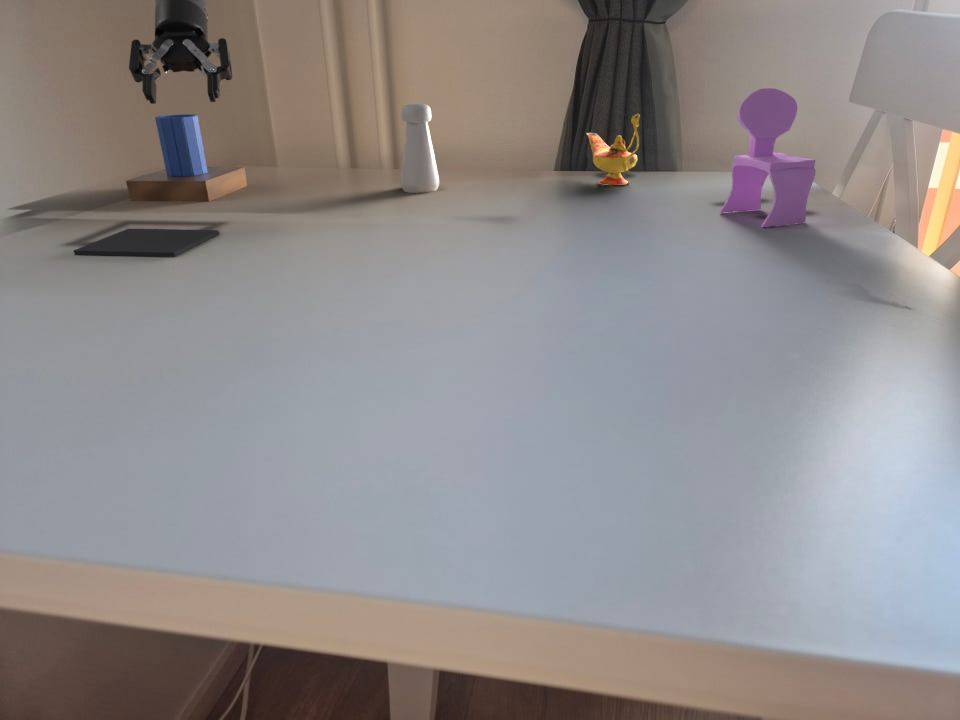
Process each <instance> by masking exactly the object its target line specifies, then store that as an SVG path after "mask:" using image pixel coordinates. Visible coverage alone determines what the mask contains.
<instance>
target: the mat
mask: <svg viewBox="0 0 960 720" xmlns="http://www.w3.org/2000/svg"><path fill="white" fill-rule="evenodd" d="M218 235H220V231H219V229H177V228H176V229H173V228H172V229H171V228H170V229H169V228H125V229H124V230H120V231H119V232H116V233H113V234H110V235H108V236H106V237H104V238H101V239H98V240H96V241H93V242H91V243H89V244H86V245H84V246H81V247H79V248H76V249H74V250H73V254H74V255H75V256H119V257H156V258H157V257H161V258H162V257H163V258H165V257H166V258H176V257H177V256H180V255H181V254H184V253H185V252H187V251H189V250H191V249H193V248H194V247H197V246H199V245H201V244H203V243H205V242H207V241H209V240H210V239H212V238H214V237H216V236H218Z"/></svg>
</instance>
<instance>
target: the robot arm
mask: <svg viewBox="0 0 960 720" xmlns="http://www.w3.org/2000/svg"><path fill="white" fill-rule="evenodd" d="M208 21H209V14H208V6H207V1H206V0H154V40H153V41H152V42H151V44H145V43H141V41H140V40H139V39H133V40H132V41H131V43H130V44H131V45H130V52H129V61H128V70H129V71H130V74H131V76H132V78H133V81H134V82H135V83H142V86H141V89H142V90H141V91H142V93H143V95H144V98H145V100H146V101H149V103H150V104H151V105H156V104H157V84H156V83H158V81H159V80H160V79H164V78H166V77H167V76H168V75H169V74H170V73H171V72H172V73H179V72H180V73H181V72H189V73H192V72H193V73H194V72H195V70H197V71H199V72H200V74H202V75H203V76H204V78H206V79H207V80H206V85H207V86H206V89H207V95H208V98H209V101H210V102H211V103H216V102H217V99H219V98H220V97H221V88H220V85H221V84H220V83H221V81H223V80H226V81H231V80H232V79H233V69H232V62H231V61H232V60H231V53H230V49H229V46H228V42H227V39H226V38H223V37H221V38H219V39H218V40H217V42H213V43H210V42H209V38H208V37H209V36H208V33H209V32H208ZM212 54H214V55H215V57H216V58H217V59H219V63H220V65H219V66H216V65H214V64H213V62H211V61H210V60H209V58H210V56H211V55H212ZM148 60H149V62H148ZM145 62H148V63H147V64H145Z"/></svg>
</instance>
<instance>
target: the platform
mask: <svg viewBox="0 0 960 720" xmlns="http://www.w3.org/2000/svg"><path fill="white" fill-rule="evenodd" d="M245 169H246V168H245V167H244V166H207V170H208V173H205V174H202V175H196V176H186V177H172V176H167V173H166V168H164V169H160V170H157V171H154V172H150V173H147V174H144V175H140V176H137V177H134V178H129V179H128V180H125V183H126V187H127V188H126V189H127V192H128V197H129V201H130V202H199V203H201V202H202V203H203V202H204V203H205V202H206V203H210V202H212V201H215V200H217V199H219V198H221V197H224V196H226V195H228V194H232V193H234V192H236V191H238V190H241V189H243V188H246V187H247V186H248V183H247V176H246V170H245Z"/></svg>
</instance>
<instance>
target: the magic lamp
mask: <svg viewBox="0 0 960 720" xmlns="http://www.w3.org/2000/svg"><path fill="white" fill-rule="evenodd" d="M640 119H641V115H640V114H639V112H638V113H636V114H634V115H633V116H632V117H631V119H630V120H631V121H630V122H631V124H632V127H633V135H632V137H631V140H630V142H629V145H628V146H627V148H626V141H625V139H624V138H622V135H620V134H619V135H617V136H616V138H615V139H614V142H613V144H612V143H611V144H610V146H609V145H608V144H607V143H606V142H605V141H604V140H603V139H602V138H601V137H600V135H598V134H597V133H595V132H585V134H586V136H587V138H588V141H589V145H590V148H591V153H592V162H593V164H594V166H596V168H597V169H599V170H601V171H603V172H605V173H607V174H606V176H605V177H603V178H602V179H601V180H599V181H598V182H599V183H601V184H608V185H621V184H627V183H628V182H629V181H628V180H626V179H625V178H624V177H623V176H622V173H629V172H630V170H631V169H632V168H634V167H635V166H636V165H637V162H638V155H637V154H635V153H637V152H638V149H639V147H640V136H639V131H638V127H639V126H640V122H639V120H640ZM635 138H636V147H635V149H634V150H633V151H632V152H630V151H629V150H630V149H631V147H632V144H633V142H634V140H635Z"/></svg>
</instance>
